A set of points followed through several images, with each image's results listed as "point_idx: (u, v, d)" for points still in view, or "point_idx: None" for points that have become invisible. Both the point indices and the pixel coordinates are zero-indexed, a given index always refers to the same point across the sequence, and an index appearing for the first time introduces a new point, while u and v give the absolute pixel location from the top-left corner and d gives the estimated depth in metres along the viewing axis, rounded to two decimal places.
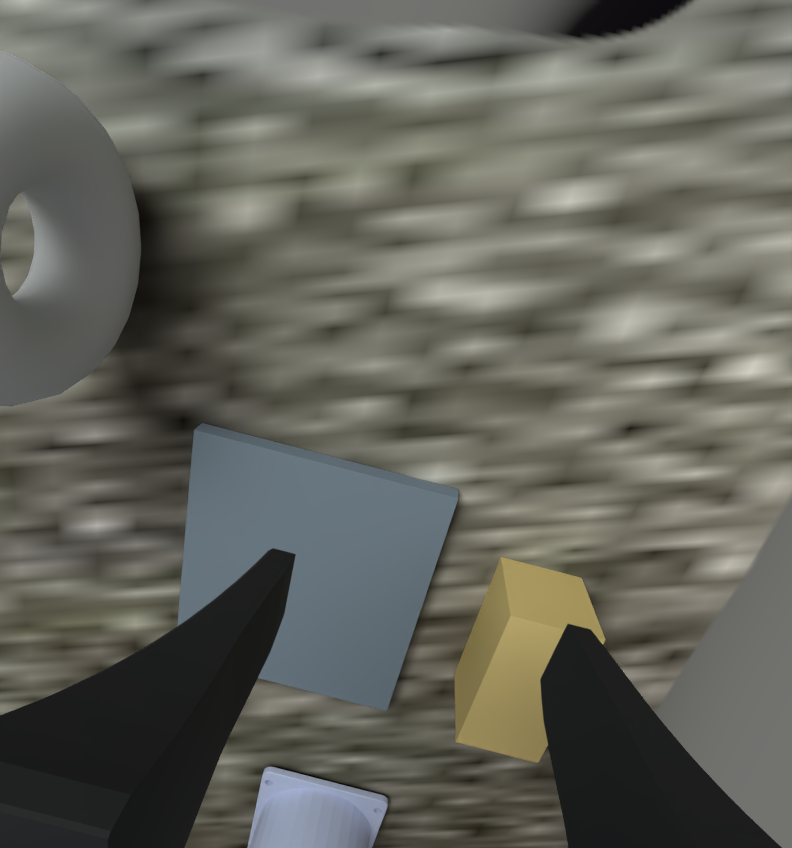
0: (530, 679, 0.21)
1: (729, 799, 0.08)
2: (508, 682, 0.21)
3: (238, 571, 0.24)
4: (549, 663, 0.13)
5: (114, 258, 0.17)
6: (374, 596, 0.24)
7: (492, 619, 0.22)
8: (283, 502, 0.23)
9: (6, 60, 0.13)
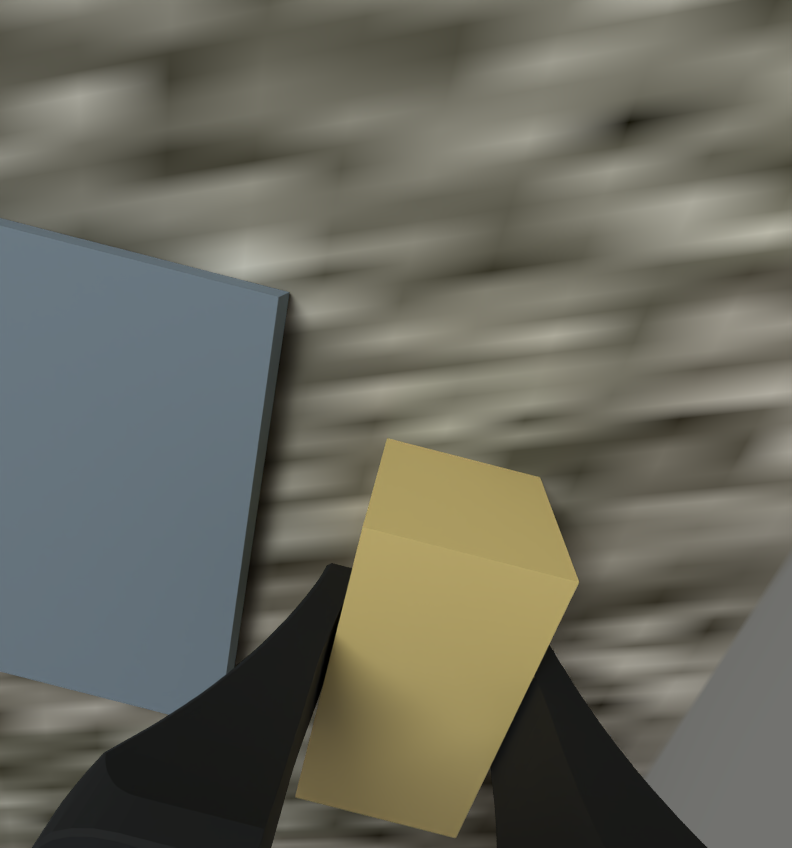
0: (423, 673, 0.10)
1: (640, 776, 0.08)
2: (378, 679, 0.10)
3: None
4: None
5: None
6: (157, 516, 0.13)
7: None
8: None
9: None
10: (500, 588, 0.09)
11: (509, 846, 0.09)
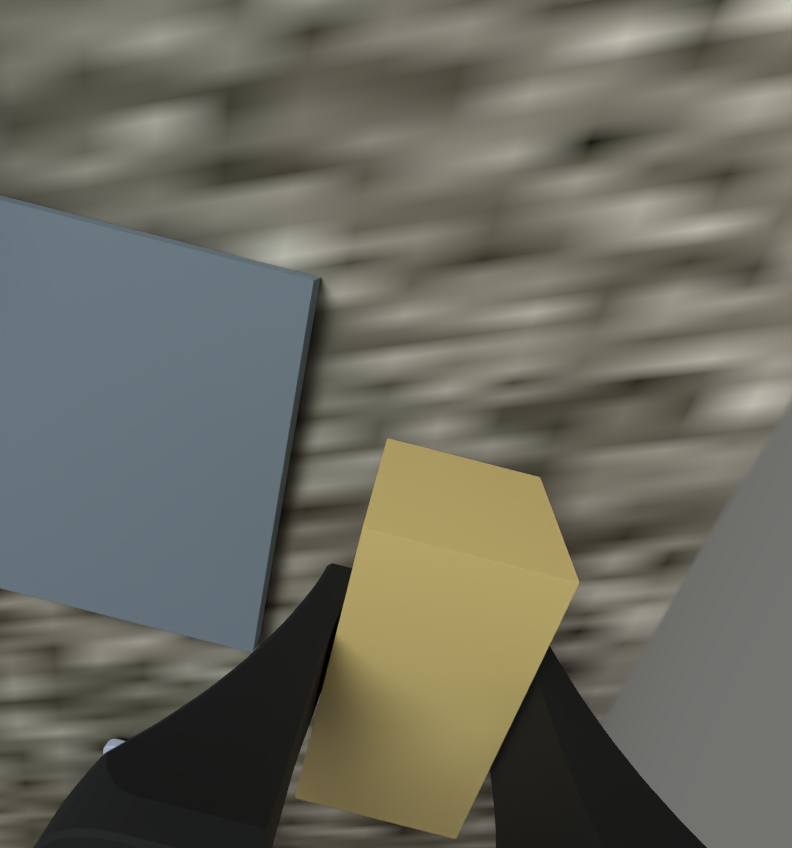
0: (423, 674, 0.10)
1: (640, 776, 0.08)
2: (378, 680, 0.10)
3: (3, 430, 0.16)
4: None
5: None
6: (208, 465, 0.16)
7: None
8: (44, 302, 0.14)
9: None
10: (499, 590, 0.09)
11: (508, 846, 0.09)
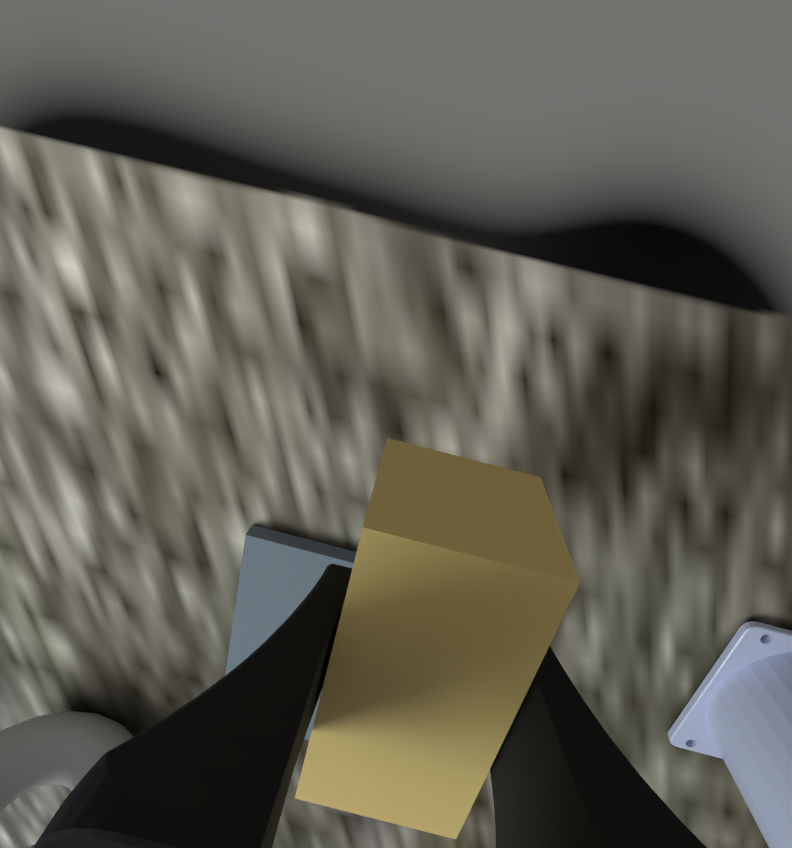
0: (423, 674, 0.10)
1: (640, 776, 0.08)
2: (378, 680, 0.10)
3: None
4: None
5: (72, 747, 0.26)
6: None
7: None
8: None
9: None
10: (500, 589, 0.09)
11: (508, 846, 0.09)
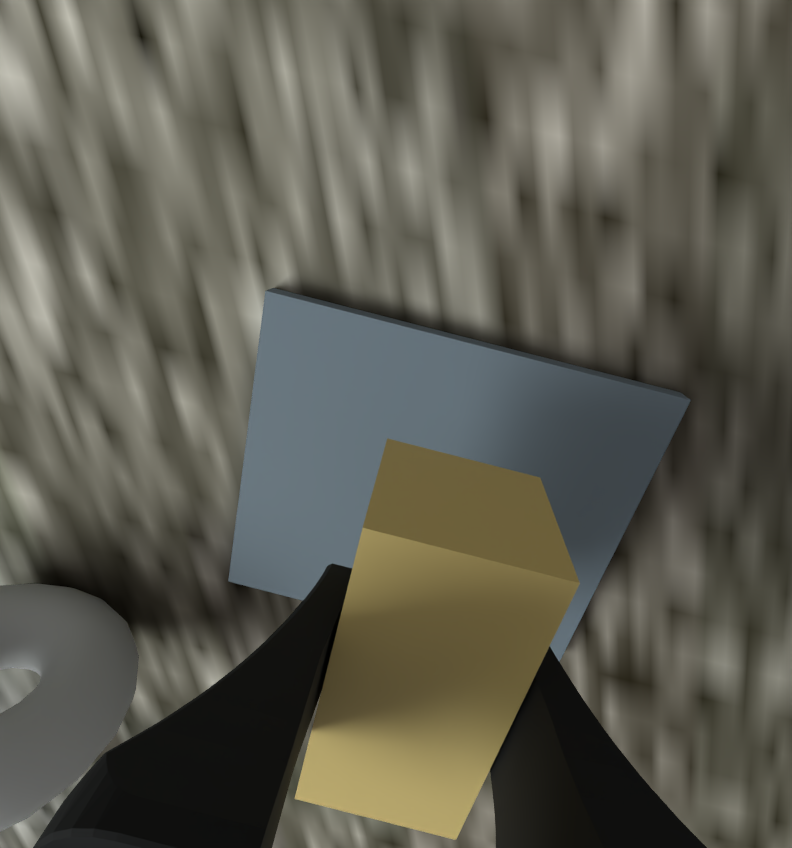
0: (423, 674, 0.10)
1: (640, 776, 0.08)
2: (378, 680, 0.10)
3: None
4: None
5: (39, 617, 0.20)
6: (441, 408, 0.17)
7: None
8: (303, 507, 0.19)
9: None
10: (500, 589, 0.09)
11: (508, 846, 0.09)
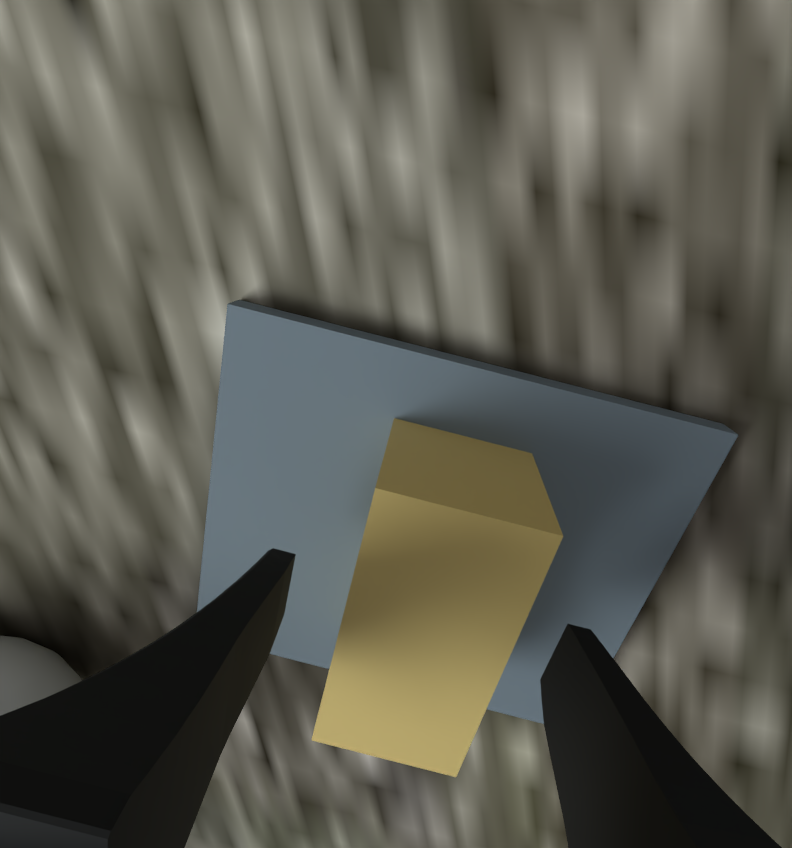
0: (427, 621, 0.11)
1: (729, 799, 0.08)
2: (387, 627, 0.11)
3: None
4: (549, 663, 0.13)
5: None
6: None
7: None
8: None
9: None
10: (494, 543, 0.10)
11: None
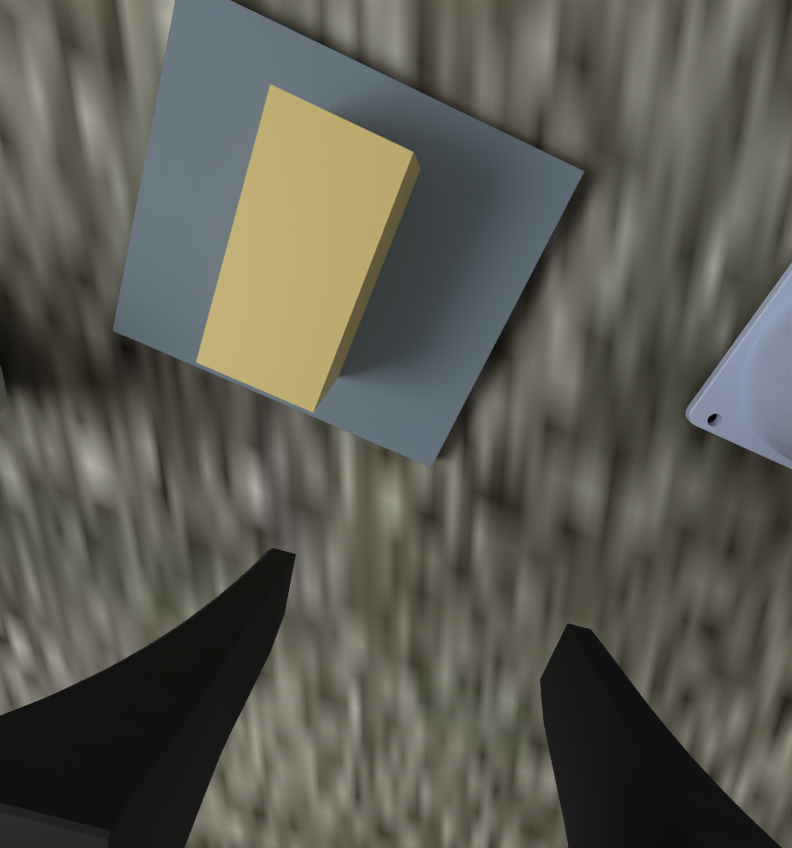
0: (301, 234, 0.14)
1: (729, 799, 0.08)
2: (269, 237, 0.14)
3: None
4: (549, 663, 0.13)
5: None
6: None
7: None
8: (197, 248, 0.18)
9: None
10: (360, 153, 0.13)
11: None
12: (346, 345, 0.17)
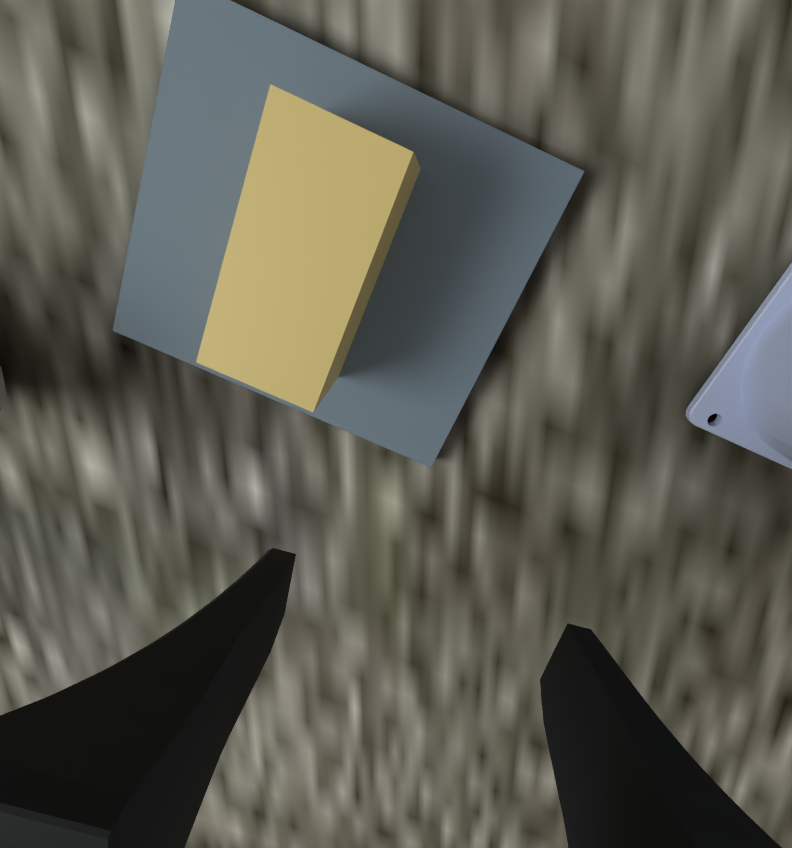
0: (301, 234, 0.14)
1: (729, 799, 0.08)
2: (269, 237, 0.14)
3: None
4: (549, 663, 0.13)
5: None
6: None
7: None
8: (197, 248, 0.18)
9: None
10: (360, 153, 0.13)
11: None
12: (346, 345, 0.17)
